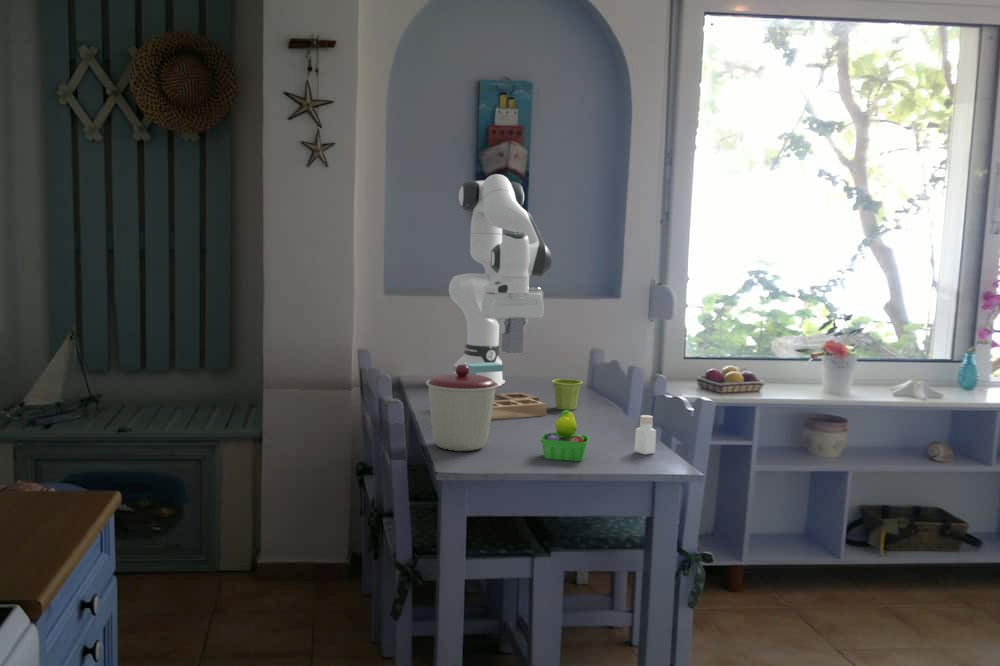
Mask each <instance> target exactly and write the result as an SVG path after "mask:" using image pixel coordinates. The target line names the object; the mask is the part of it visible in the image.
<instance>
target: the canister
mask: <svg viewBox="0 0 1000 666" xmlns="http://www.w3.org/2000/svg"><path fill="white" fill-rule="evenodd" d="M469 371H470V369H469V367H468V366H467V365H458V366H457V367H456V374H454V373H444V374H438V375H434V376H433V377H431V378H430V379H428V380H426V381H425V382H426V383H425V384H426V386H427V387H428V397H429V399H428V400H429V408H430V409H429V410H430V411H429V412H430V422H431V433H432V438H433V442H434V443H435V444H436V446H437V447H438V448H440V449H443V450H446V449H448V450H449V451H452V450H454V451H453V452H470V451H477V450H479V449H482V448H483V447H484V446H485V445H486V443H487V441H488V438H489V434H490V426H491V421H492V420H491V416H492V409H493V402H494V401H495V394H496V389H497V388H498V387H499V386H498V383H496V382H494V381H493V380H492V379H491V378H488V377H485V376H481V375H474V374H469Z"/></svg>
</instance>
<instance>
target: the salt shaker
mask: <svg viewBox="0 0 1000 666" xmlns="http://www.w3.org/2000/svg"><path fill="white" fill-rule="evenodd" d="M639 418H640V419H639V420H640V421H639V423H640V424H639V427H637V428H636V429H635V439H634V453H638V454H641V455H652V454H655V452H656V444H657V443H656V440H657V430H656V429H654V428H653V423H654V421H653V419H654V417H653V416H652V415H649V414H641V415H640V417H639Z"/></svg>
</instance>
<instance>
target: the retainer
mask: <svg viewBox="0 0 1000 666" xmlns="http://www.w3.org/2000/svg"><path fill="white" fill-rule="evenodd" d="M464 365H467V366H468V367H469V369H470V371H469V374H474V375H476V373H480V372H499V371H502V372H504V371H503V370H504V364H503V363H502V364H498V363H475V364H464Z"/></svg>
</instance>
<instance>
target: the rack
mask: <svg viewBox="0 0 1000 666" xmlns="http://www.w3.org/2000/svg"><path fill="white" fill-rule="evenodd" d="M547 408H548V405H547V403H546V402H542V401H540V400H539V401H536V400H533V399H530V398H524V399H509V400H495V399H494V402H493V409H492V416H491V421H492V420H493V421H494V420H507V419H508V420H509V419H518V418H519V419H520V418H531V417H541V416H542V417H543V416H547Z"/></svg>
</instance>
